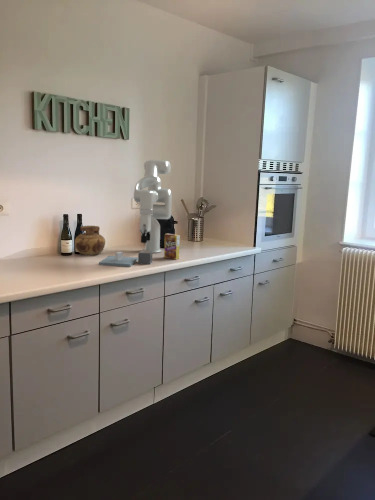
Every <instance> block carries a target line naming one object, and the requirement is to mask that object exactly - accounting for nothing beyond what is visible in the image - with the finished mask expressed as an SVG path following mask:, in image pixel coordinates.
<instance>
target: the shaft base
mask: <svg viewBox="0 0 375 500" xmlns="http://www.w3.org/2000/svg"><path fill="white" fill-rule="evenodd" d="M123 253H124V252H123V251H118V252H115V255H108V256H106V257H105V258H104V259H102V260H100V261H99V262H98V265H99V266H109V267H110V266H111V267H123V268H124V267H125V268H127V267H128V268H130V267H132V266H133V265H134V264H135V263H137V262H138V256H137V257H134V256H132V257H131V256H124V254H123Z"/></svg>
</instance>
